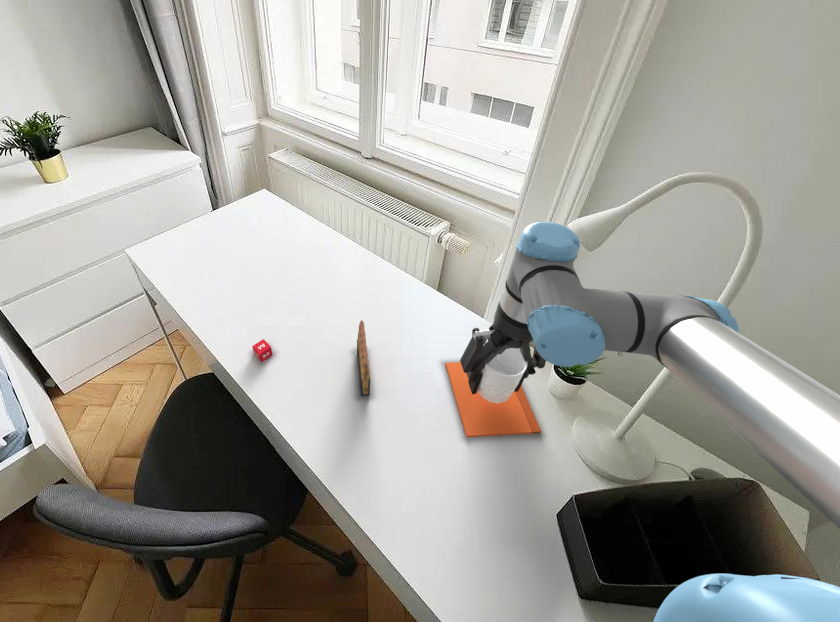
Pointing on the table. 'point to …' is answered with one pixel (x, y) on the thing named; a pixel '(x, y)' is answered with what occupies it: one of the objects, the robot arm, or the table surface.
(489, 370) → the white cup
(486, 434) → the folder
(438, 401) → the table surface
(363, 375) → the ammunition clip
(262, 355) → the dice
